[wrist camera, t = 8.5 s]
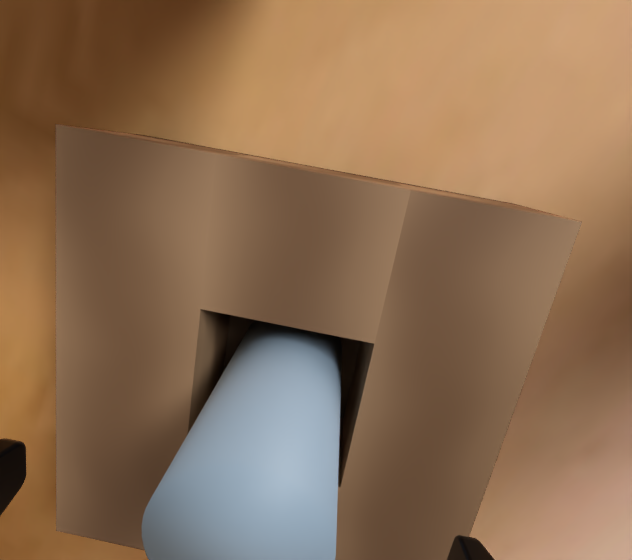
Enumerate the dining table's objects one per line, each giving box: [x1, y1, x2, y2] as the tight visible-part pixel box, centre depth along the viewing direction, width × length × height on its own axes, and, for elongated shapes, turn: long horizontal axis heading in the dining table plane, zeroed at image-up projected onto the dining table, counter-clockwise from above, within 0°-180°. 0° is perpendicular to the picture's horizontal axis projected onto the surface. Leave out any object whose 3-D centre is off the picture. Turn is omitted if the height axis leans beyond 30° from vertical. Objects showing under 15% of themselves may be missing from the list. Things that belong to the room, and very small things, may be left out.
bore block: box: [56, 124, 582, 560], centre depth 14 cm, size 13×13×4 cm
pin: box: [142, 320, 342, 560], centre depth 11 cm, size 4×4×8 cm
